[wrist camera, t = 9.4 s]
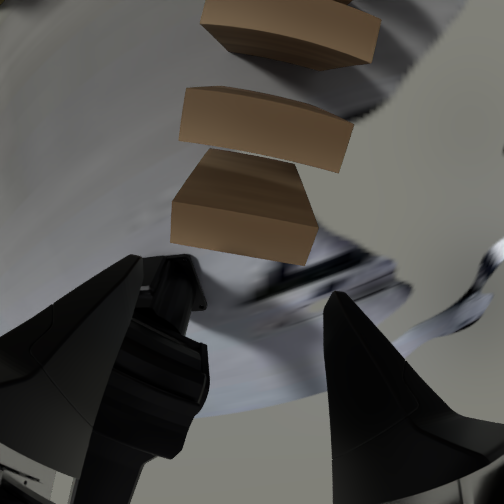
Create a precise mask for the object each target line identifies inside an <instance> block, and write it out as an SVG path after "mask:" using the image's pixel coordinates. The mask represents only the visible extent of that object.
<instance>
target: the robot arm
mask: <svg viewBox="0 0 504 504" xmlns="http://www.w3.org/2000/svg"><path fill="white" fill-rule="evenodd" d="M183 259H186V260H187V261H184V260H183ZM201 305H202V306H201ZM206 308H207V302H206V300H205V297H204V294H203V291H202V289H201V286H200V283H199V280H198V277H197V274H196V271H195V268H194V265H193V263H192V260H191V257H190V256H189V255H187V254H180V255H171V256H156V257H147V258H142V257H141V256H138V255H133V254H130V255H128V256H126V257H125V258H123V259H121V260H120V261H118V262H116V263H115V264H113V265H111V266H110V267H108V268H107V269H105V270H103V271H102V272H100V273H99V274H97V275H95V276H94V277H92V278H91V279H89V280H88V281H86V282H85V283H83V284H81V285H80V286H78V287H77V288H75V289H74V290H72V291H71V292H69V293H68V294H66V295H65V296H63V297H62V298H60V299H59V300H57V301H56V302H54V304H51V305H50V306H49V307H47V308H46V309H44V310H43V311H41V312H40V313H38V314H37V315H35V316H34V317H32V318H31V319H29V320H27V321H26V322H24V323H23V324H21V325H19V326H18V327H16V328H14V329H13V330H11V331H9V332H7V333H6V334H4V335H3V336H1V337H0V504H55V503H53V502H52V501H50V498H51V493H52V488H53V483H54V479H55V474H56V471H58V472H61V473H63V474H66V475H68V476H71V477H74V478H73V482H72V487H71V491H70V495H69V500H68V504H130V502H131V499H132V496H133V493H134V490H135V488H136V485H137V482H138V480H139V477H140V474H141V471H142V469H143V467H144V465H145V464H146V463H147V462H149V461H151V460H152V459H154V458H156V457H157V456H159V457H163V458H166V459H173V458H174V457H175V456H176V455H177V454H178V453H179V452H180V451H181V450H182V448H183V445H184V442H185V438H186V435H187V432H188V430H189V427H190V425H191V422H192V420H193V418H194V416H195V415H196V414H198V412H199V411H200V410H201V409H202V407H203V405H204V403H205V401H206V398H207V395H208V392H209V386H210V376H209V364H208V351H207V345H206V344H203V343H198V342H196V341H194V340H192V339H190V338H188V337H185V335H186V331H187V327H188V323H189V319H190V315H191V311H203V310H206ZM323 346H324V361H325V370H326V380H327V391H328V402H329V415H330V430H331V445H332V446H331V447H332V459H333V460H332V473H333V474H332V475H333V476H332V477H333V504H504V424H501V423H495V422H489V421H484V420H479V419H474V418H469V417H464V416H462V415H459V414H457V413H456V412H454V411H453V410H452V409H451V408H450V407H449V406H448V405H447V404H446V403H445V402H444V401H443V400H442V399H441V398H440V397H439V396H438V395H437V394H436V393H435V392H434V391H433V390H432V389H431V388H430V387H429V386H428V385H427V384H426V383H425V382H424V380H423V379H422V378H421V377H420V376H419V375H418V374H417V373H416V372H415V370H413V368H412V367H411V366H410V365H409V364H408V362H407V361H405V359H404V358H403V356H402V355H401V354H400V353H399V352H398V351H397V350H396V348H395V347H394V346H393V345H392V344H391V343H390V342H389V340H388V339H387V338H386V337H385V336H384V335H383V334H382V332H380V330H379V329H378V328H377V327H376V326H375V325H374V323H373V322H372V321H371V320H370V319H369V318H368V317H367V316H366V315H365V314H364V312H363V311H362V310H361V309H360V308H359V307H358V306H357V305H356V304H355V303H354V301H353V300H352V299H351V298H350V297H349V296H348V295H347V294H346V293H345V292H340V291H333V292H332V294H331V296H330V298H329V300H328V302H327V303H326V305H325V307H324V311H323Z"/></svg>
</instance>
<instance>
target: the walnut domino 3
mask: <svg viewBox="0 0 504 504" xmlns="http://www.w3.org/2000/svg"><path fill="white" fill-rule="evenodd" d="M318 229H319V227H318V224H317V221H316V219H315V216H314V213H313V210H312V208H311V205H310V202H309V200H308V197H307V194H306V192H305V189H304V187H303V184H302V181H301V179H300V176H299V174H298V171H297V169H296V166H295V164H292V163H288V162H283V161H278V160H274V159H269V158H264V157H259V156H254V155H248V154H243V153H237V152H231V151H225V150H219V149H212V148H209V150H208V151H207V152H206V154H205V155H204V156H203V158H202V159H201V161H200V162H199V163H198V165H197V166H196V167H195V169H194V170H193V172H192V173H191V174H190V176H189V177H188V179H187V180H186V182H185V183H184V184H183V186H182V187H181V189H180V190H179V192H178V193H177V195H176V196H175V198H174V199H173V201H172V212H171V237H170V243H175V244H180V245H186V246H192V247H197V248H203V249H209V250H214V251H220V252H226V253H232V254H237V255H243V256H249V257H255V258H261V259H266V260H272V261H278V262H284V263H290V264H296V265H301V266H305V264H306V261H307V259H308V256H309V253H310V251H311V248H312V245H313V242H314V240H315V237H316V234H317V231H318Z"/></svg>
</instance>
